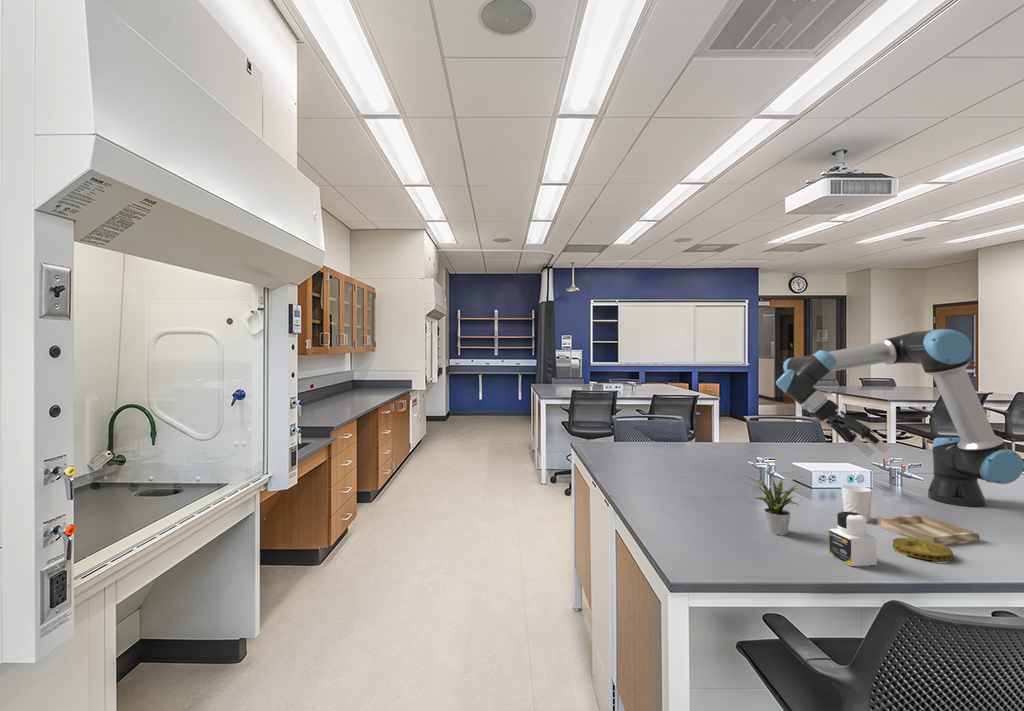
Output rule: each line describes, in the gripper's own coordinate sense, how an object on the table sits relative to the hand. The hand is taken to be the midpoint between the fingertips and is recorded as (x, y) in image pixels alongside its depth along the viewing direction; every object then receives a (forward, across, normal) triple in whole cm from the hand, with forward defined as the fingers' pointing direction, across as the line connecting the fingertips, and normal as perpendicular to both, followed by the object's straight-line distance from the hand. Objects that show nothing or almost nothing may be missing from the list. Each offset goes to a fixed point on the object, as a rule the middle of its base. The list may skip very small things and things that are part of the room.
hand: (879, 452), depth 149 cm
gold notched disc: (+20, +21, -20) cm, 36 cm away
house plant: (-4, +18, -42) cm, 46 cm away
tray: (+22, +4, -11) cm, 25 cm away
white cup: (+10, -4, -20) cm, 23 cm away
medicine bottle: (+9, +32, -35) cm, 49 cm away
